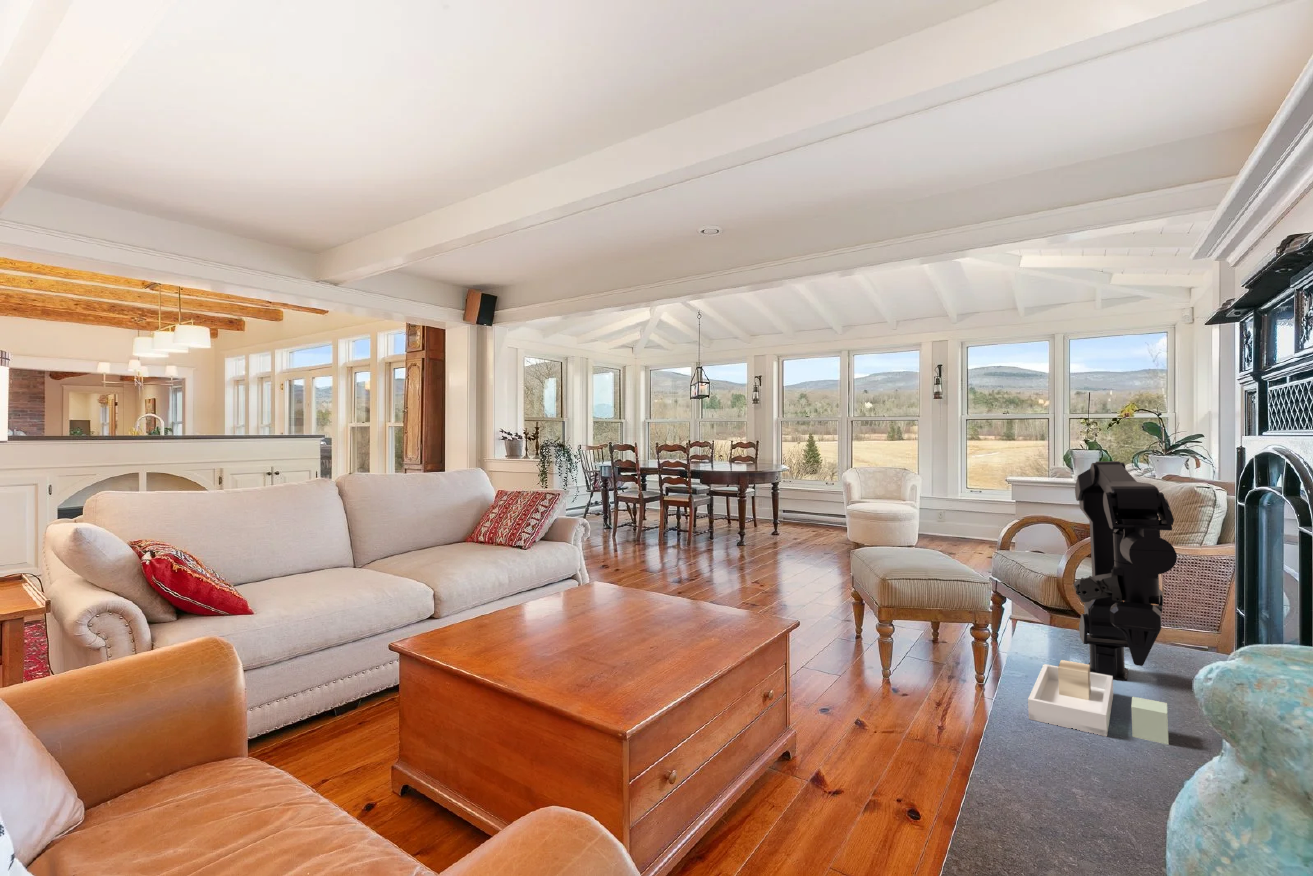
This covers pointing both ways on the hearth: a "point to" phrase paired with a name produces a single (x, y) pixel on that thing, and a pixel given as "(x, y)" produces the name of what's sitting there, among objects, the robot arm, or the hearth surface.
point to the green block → (1149, 720)
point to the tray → (1071, 703)
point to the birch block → (1074, 679)
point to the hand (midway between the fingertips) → (1139, 656)
